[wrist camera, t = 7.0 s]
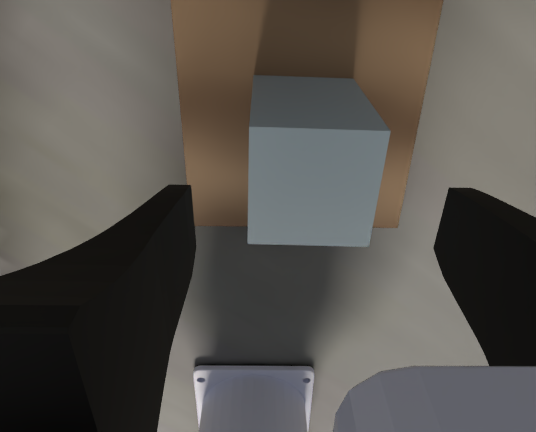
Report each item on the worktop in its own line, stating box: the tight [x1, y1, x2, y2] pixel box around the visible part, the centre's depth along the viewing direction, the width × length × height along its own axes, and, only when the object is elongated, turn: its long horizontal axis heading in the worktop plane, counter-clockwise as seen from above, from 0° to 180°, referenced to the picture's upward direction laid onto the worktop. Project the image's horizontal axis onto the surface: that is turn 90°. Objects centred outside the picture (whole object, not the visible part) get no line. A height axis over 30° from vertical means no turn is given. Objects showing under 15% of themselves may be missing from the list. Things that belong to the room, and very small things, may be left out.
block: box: [247, 75, 391, 247], centre depth 16 cm, size 4×4×6 cm
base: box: [171, 0, 443, 228], centre depth 19 cm, size 10×10×2 cm
